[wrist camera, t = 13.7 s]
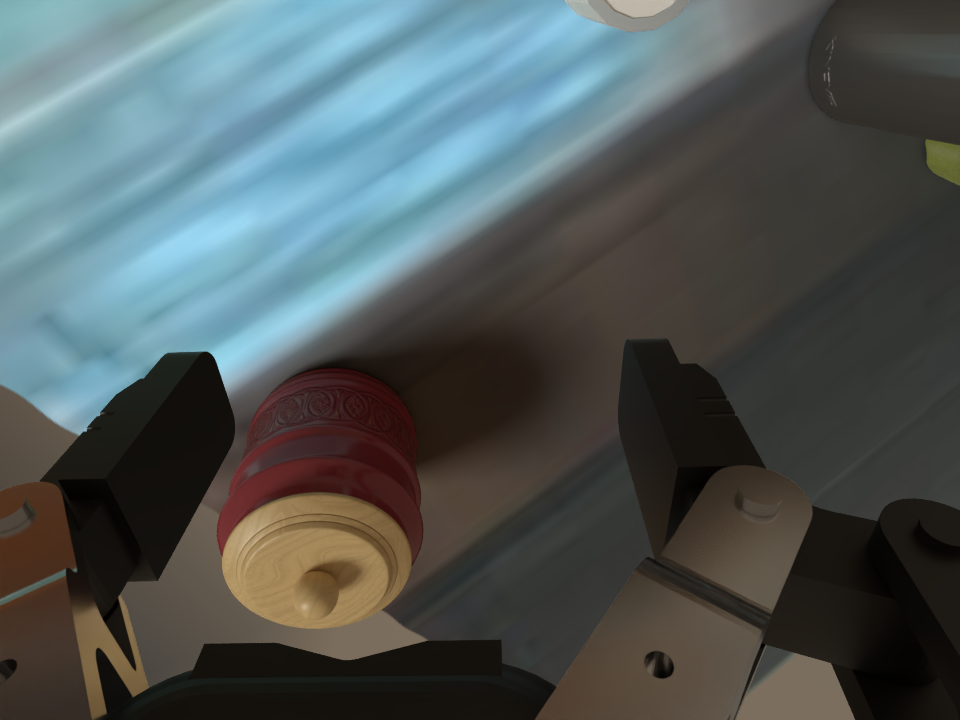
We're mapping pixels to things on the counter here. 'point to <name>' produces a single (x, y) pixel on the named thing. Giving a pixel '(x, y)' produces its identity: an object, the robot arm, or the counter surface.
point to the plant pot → (944, 160)
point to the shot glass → (629, 12)
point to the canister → (323, 502)
